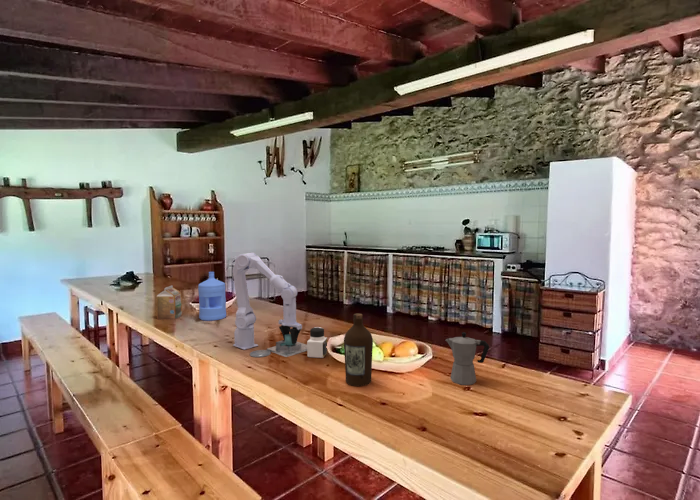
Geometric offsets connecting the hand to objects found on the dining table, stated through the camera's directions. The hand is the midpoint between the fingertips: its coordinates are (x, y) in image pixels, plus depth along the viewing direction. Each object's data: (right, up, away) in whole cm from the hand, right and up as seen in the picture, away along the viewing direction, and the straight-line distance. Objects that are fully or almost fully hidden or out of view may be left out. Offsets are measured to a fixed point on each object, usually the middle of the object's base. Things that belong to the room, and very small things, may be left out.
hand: (290, 342), depth 189 cm
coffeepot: (+70, -6, -38) cm, 80 cm away
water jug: (-56, +1, +62) cm, 83 cm away
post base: (0, -3, 0) cm, 3 cm away
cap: (-1, -1, -1) cm, 2 cm away
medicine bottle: (+13, -4, -8) cm, 16 cm away
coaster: (-13, -4, -6) cm, 14 cm away
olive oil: (+30, -6, -38) cm, 49 cm away
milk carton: (-83, +1, +64) cm, 105 cm away
